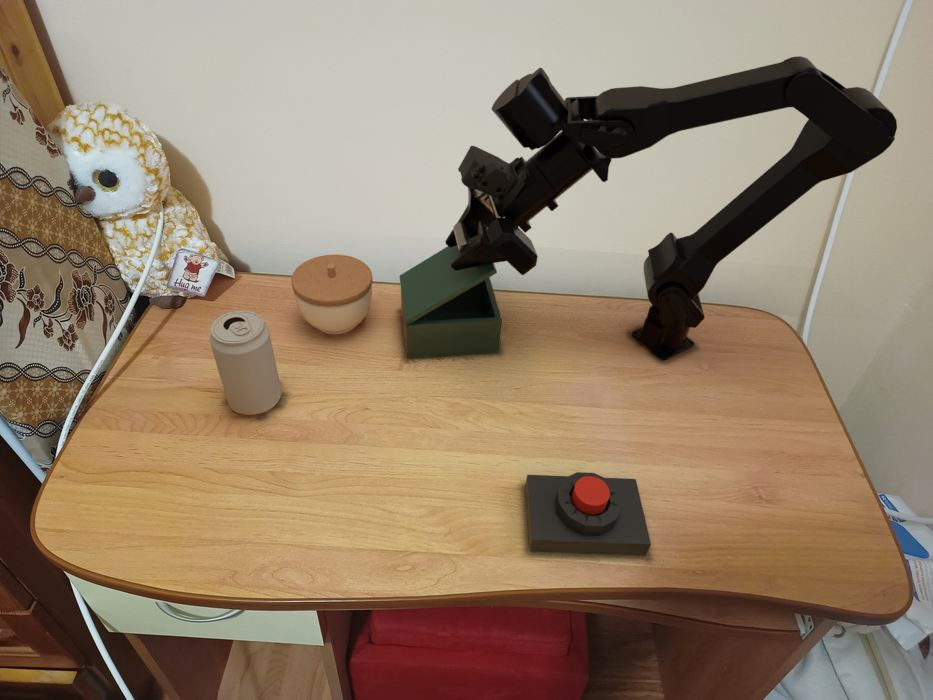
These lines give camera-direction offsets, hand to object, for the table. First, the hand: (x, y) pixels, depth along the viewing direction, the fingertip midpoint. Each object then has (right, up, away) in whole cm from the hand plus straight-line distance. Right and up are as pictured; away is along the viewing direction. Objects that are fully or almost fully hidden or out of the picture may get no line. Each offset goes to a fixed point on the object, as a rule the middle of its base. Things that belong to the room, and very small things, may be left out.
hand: (450, 255), depth 80 cm
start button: (+15, -28, -15) cm, 35 cm away
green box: (0, -9, +9) cm, 13 cm away
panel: (+15, -30, -13) cm, 36 cm away
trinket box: (-16, -8, +9) cm, 20 cm away
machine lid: (0, -2, +2) cm, 3 cm away
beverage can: (-24, -18, -3) cm, 30 cm away
